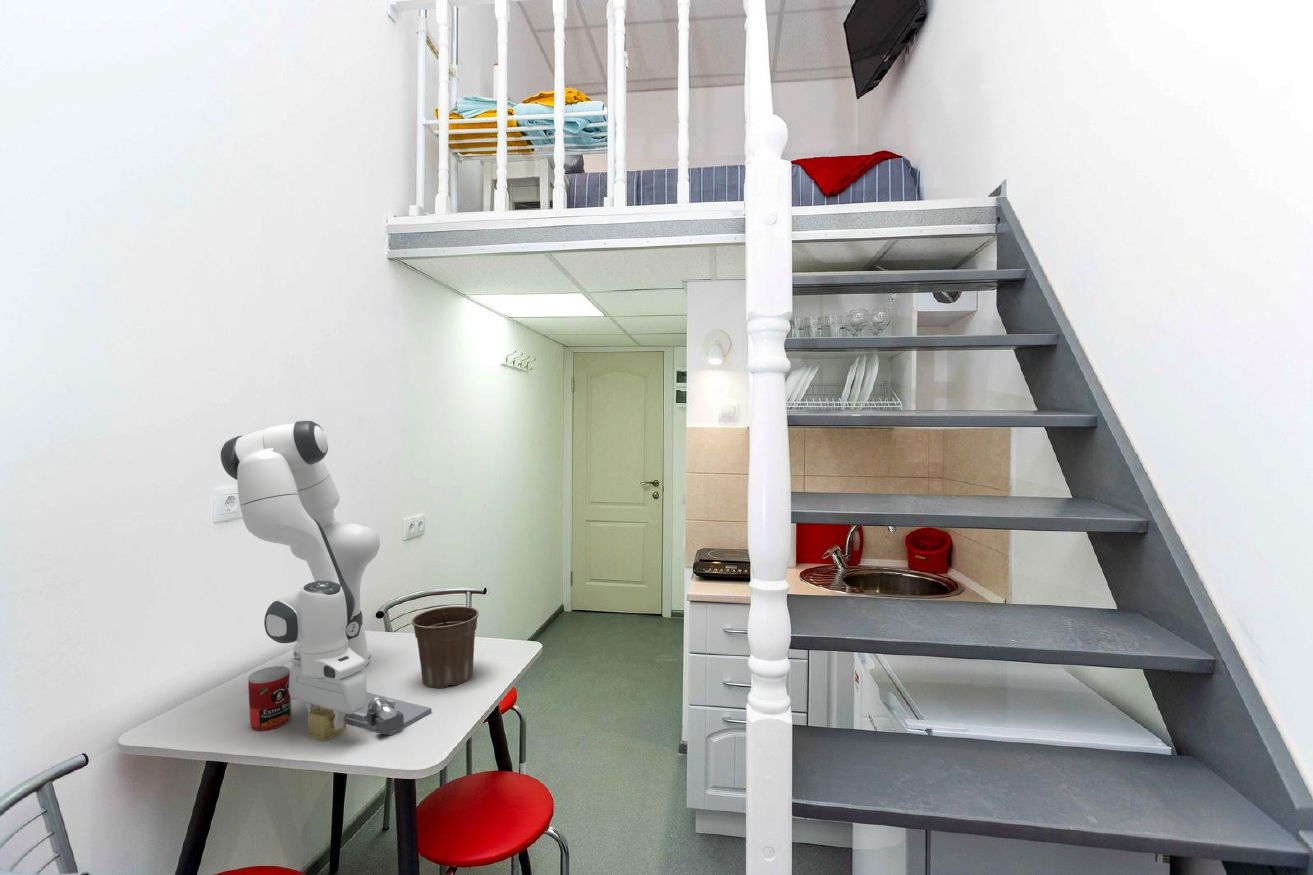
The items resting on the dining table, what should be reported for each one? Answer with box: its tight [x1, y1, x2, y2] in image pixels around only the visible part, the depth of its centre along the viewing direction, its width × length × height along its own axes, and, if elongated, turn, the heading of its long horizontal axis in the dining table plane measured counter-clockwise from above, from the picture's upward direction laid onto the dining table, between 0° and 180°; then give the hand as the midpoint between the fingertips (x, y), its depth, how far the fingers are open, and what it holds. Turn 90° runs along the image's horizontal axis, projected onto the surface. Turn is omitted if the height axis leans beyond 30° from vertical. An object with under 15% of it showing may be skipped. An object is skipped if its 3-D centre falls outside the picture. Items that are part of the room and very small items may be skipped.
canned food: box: [247, 665, 292, 732], centre depth 133 cm, size 8×8×11 cm
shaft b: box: [367, 695, 404, 735], centre depth 130 cm, size 8×5×4 cm, turn 44°
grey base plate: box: [346, 691, 432, 736], centre depth 136 cm, size 23×11×2 cm, turn 64°
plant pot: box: [411, 605, 480, 689], centre depth 155 cm, size 16×16×16 cm
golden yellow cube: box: [307, 706, 347, 742], centre depth 128 cm, size 5×5×5 cm
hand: (327, 725), depth 128 cm, fingers closed on golden yellow cube, 5 cm apart
